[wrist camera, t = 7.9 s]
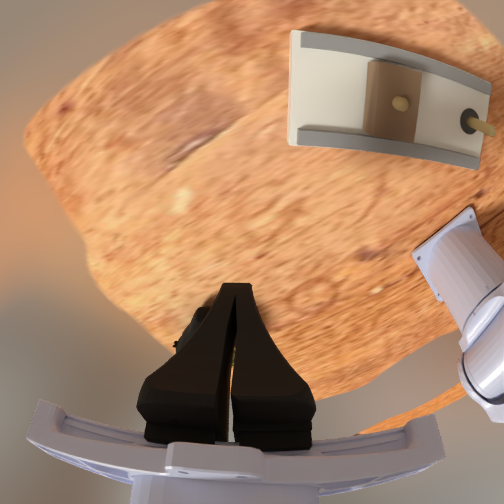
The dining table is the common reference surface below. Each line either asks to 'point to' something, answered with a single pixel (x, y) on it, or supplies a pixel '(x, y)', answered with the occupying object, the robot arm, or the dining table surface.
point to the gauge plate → (353, 100)
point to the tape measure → (194, 329)
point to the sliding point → (391, 101)
